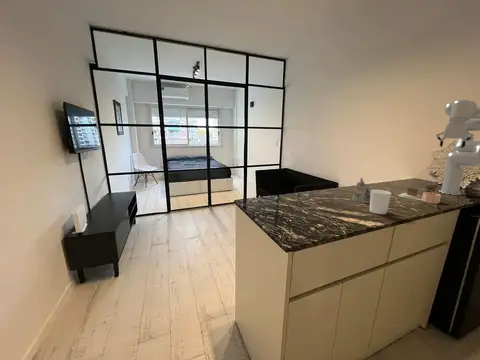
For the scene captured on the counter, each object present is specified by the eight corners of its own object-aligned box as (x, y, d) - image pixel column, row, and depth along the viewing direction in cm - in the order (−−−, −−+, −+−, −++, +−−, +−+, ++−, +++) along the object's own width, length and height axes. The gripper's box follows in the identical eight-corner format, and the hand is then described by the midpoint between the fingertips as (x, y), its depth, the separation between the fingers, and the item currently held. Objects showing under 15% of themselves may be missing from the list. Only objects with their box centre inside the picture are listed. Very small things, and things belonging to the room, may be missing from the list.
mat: (403, 193, 156) (403, 192, 156) (425, 197, 146) (425, 196, 146) (397, 196, 148) (397, 195, 148) (420, 201, 138) (420, 200, 138)
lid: (404, 193, 154) (405, 185, 153) (423, 196, 146) (425, 188, 144) (399, 195, 148) (401, 187, 146) (419, 199, 139) (421, 191, 138)
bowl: (423, 199, 141) (425, 191, 140) (439, 203, 135) (441, 194, 133) (420, 202, 136) (421, 193, 135) (437, 205, 130) (439, 196, 128)
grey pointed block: (348, 199, 141) (352, 178, 137) (356, 196, 152) (361, 176, 148) (374, 206, 130) (379, 184, 126) (381, 202, 141) (386, 181, 137)
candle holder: (385, 216, 112) (388, 195, 110) (365, 211, 120) (368, 191, 117) (390, 212, 119) (393, 192, 116) (371, 207, 126) (373, 188, 123)
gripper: (476, 120, 129) (470, 148, 133) (439, 121, 141) (433, 146, 145) (478, 119, 124) (471, 148, 127) (438, 120, 136) (433, 147, 139)
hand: (451, 147), depth 136 cm, fingers open, 9 cm apart
